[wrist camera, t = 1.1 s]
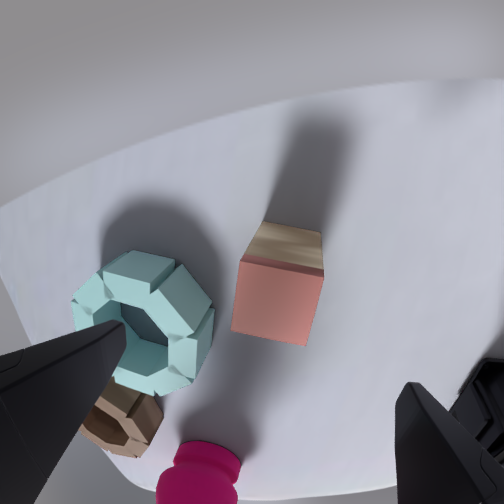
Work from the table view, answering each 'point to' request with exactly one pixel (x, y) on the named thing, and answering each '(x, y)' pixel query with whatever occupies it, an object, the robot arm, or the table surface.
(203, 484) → the pepper mill
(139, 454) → the brown segmented ring
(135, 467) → the table surface
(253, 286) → the pink two-tone square block
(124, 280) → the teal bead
